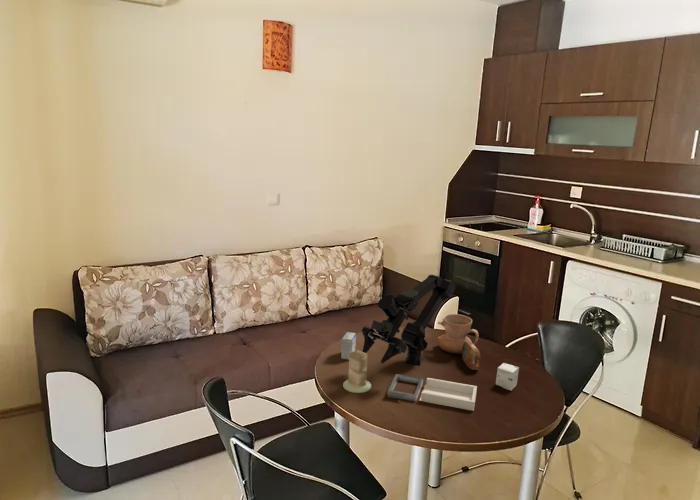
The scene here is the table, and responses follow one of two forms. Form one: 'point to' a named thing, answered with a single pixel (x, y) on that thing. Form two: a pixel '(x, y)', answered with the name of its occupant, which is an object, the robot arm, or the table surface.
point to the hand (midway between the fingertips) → (372, 358)
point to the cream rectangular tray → (449, 394)
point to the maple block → (357, 369)
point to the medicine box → (348, 345)
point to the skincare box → (507, 376)
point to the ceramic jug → (456, 332)
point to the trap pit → (403, 395)
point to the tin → (471, 355)
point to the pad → (354, 390)
